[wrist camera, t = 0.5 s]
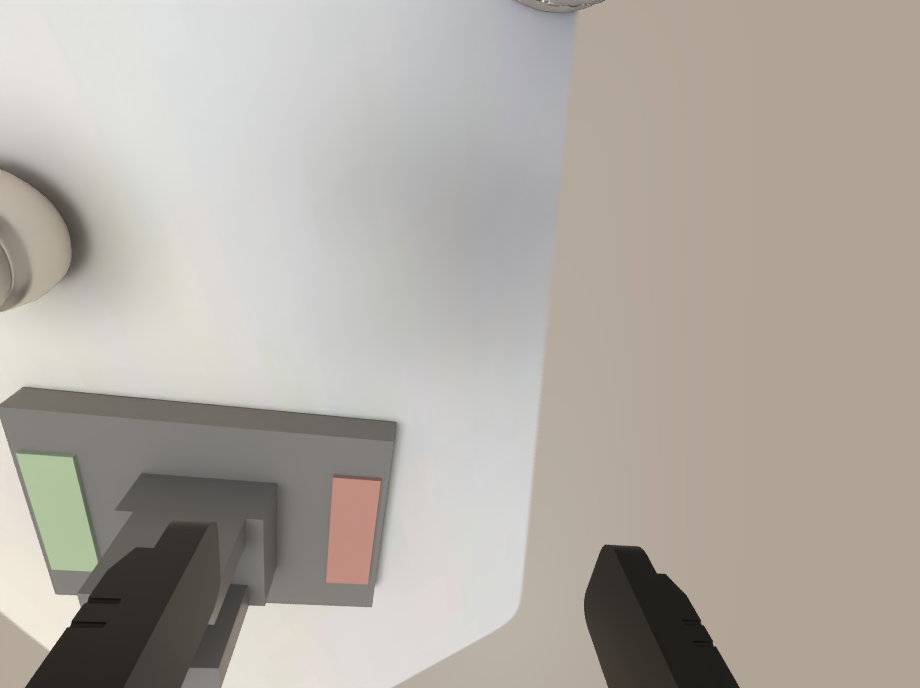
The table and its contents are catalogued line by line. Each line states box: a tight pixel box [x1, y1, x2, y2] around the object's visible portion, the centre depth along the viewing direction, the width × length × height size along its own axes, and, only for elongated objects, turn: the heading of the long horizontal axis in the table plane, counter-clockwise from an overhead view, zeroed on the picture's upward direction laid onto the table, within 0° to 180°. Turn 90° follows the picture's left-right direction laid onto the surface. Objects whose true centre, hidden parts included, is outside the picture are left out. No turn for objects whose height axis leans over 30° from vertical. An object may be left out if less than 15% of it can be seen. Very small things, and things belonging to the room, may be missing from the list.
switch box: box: [0, 387, 396, 688], centre depth 29 cm, size 16×22×10 cm
